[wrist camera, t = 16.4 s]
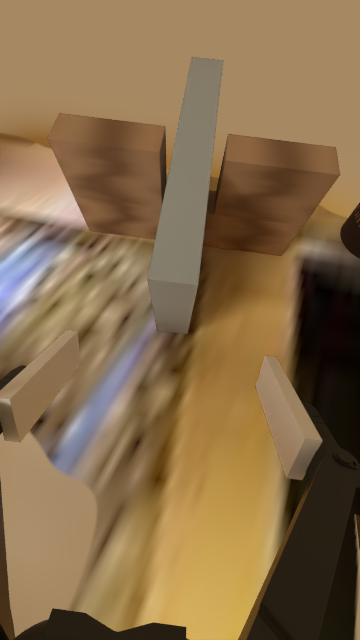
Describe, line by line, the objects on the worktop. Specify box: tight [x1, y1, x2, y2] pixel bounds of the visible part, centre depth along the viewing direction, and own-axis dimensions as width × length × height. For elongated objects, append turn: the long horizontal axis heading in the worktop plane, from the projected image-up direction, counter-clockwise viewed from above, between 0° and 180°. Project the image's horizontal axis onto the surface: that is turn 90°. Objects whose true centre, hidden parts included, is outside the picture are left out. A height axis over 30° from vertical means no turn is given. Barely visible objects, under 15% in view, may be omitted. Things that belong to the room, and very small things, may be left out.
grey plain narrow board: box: [148, 57, 223, 334], centre depth 23 cm, size 24×3×10 cm, turn 173°
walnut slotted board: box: [48, 113, 340, 256], centre depth 23 cm, size 22×3×10 cm, turn 83°
